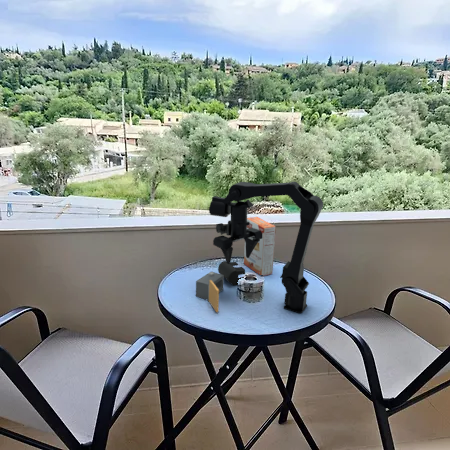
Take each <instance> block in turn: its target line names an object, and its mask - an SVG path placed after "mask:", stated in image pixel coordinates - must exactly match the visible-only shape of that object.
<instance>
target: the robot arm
mask: <svg viewBox="0 0 450 450" xmlns="http://www.w3.org/2000/svg"><path fill="white" fill-rule="evenodd" d="M276 196H278V197H279V196H288V197H289V198H290V199H291V200H292V202H293V203H294V204H295V206H296V207H298V208H299V209H300V211H299V212H300V213H299V220H300V225H299V229H298V232H297V236H296V240H295V244H294V247H293V251H292V255H291V259H290V261H287V262H286V263H285V264H284V266H283V267H282V271H281V272H282V273H281V275H280V279H281V284H282V285H283V287H284V288H285V291H286V293H284V301H283V302H284V303H283V304H284V306H283V309H285V310H288V311H291V312H294V313H298V314H302V313H303V312H304V311H305V309H307V307H308V304H307V299H308V298H307V297H308V291H307V288H308V286H309V284H310V283H309V280H307V278H306V277H305V276H304V273H305V271H304V270H305V266H304V262H305V257H306V253H307V250H308V246H309V243H310V239H311V236H312V232H313V228H314V225H315V223H316V221H317V219H318V218H319V217H320V214H321V212H322V210H323V208H324V201H323V199H322V198H321V197H319V196H318V195H314V194H313V193H312V192H311V191H309V189H306V188H304V187H303V186H302V185H300V184H299V183H298V182H297V181H289V182H276V183H275V182H274V183H261V184H259V183H258V184H257V183H253V182H249V181H239V182H236V183H234V184H232V185H230V187H229V189H228V194H227V195H226V196H225V197H221V196H212V198H211V201H210V203H209V207H208V213H209V214H210V216H215V217H220V218H221V217H222V218H227V217H228V216H229V215H230V220H227V224H224V223H217V224H216V225H215V231H216V232H217V234H218V233H219V234H220V235H219V236H215V237H214V238H213V240H212V245H213V246H215V247H217V248H218V249H220V250H221V251H222V254H223V256H224V258H225V259H224V260H225V261H226V262H227V264H230V262H232V261H231V260H232V255H233V251H234V247H232V246H233V243H235V242H239V241H242V240H244V243H245V242H246V258H249V257H250V255H251V253H252V251H253V249H254V248H255V246H256V245H257V243H258V242H259V241H260V239H262V232H261V230H258V229H255V228H250V229H247V225H249V223H250V222H248V221H247V218H248V209H251V208H252V207H254V203H252V202H251V201H250V199H252V198H257V197H276ZM245 200H246V201H245ZM224 234H226V236H225V235H224ZM228 236H229V237H228Z"/></svg>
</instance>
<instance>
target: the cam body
mask: <svg viewBox="0 0 450 450" xmlns="http://www.w3.org/2000/svg"><path fill="white" fill-rule="evenodd" d="M224 279H225V278H224V275H222V274H220V273H219V272H215V271H214V272H213V271H210V272H208V273H207V274H205V275H203V276H202V277H200V278H199V279H197V280H196V281H195V296H196V297H197V298H200V299H203V300H206V301H208V286H209V280H212V281H213V283H214V284H215V285H216V287H217V288H218V289H219V294H220V293H221V292H222V291H224Z"/></svg>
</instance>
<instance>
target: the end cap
mask: <svg viewBox="0 0 450 450" xmlns="http://www.w3.org/2000/svg"><path fill="white" fill-rule="evenodd" d="M238 265H239V263H238V262H236V261H230V264H227V262H226V260H223V261H221V262H220V264H219V265H218V266H217V267H218V268H217V271H218V272H217V273H218V274H222V275H224V279H225V280H226V281H227V282H229V284H231V285H232V286H234V287H235V286H239V285H238V283H237V282H238V280H239V279H241V278H244V277H245V276H242V275H246V268H244V267H243V266H239V267H236V266H238ZM240 276H241V277H240ZM239 277H240V278H239Z"/></svg>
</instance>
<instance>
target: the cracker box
mask: <svg viewBox="0 0 450 450" xmlns="http://www.w3.org/2000/svg"><path fill="white" fill-rule="evenodd" d="M247 221H248V222H250V223H249V225H247V229H250V228H255V229H258V230H261V232H262V239H260V241H259V242H258V243H257V245H256V246H255V248H254V249H253V251H252V253H251V255H250V257H249V258H246V242H245V241H244V251H243V252H244V253H243V255H244V256H243V265H245V266H246V267H248V268H249V269H250V270H252V271H253V272H254V271H255V272H254V273H256V274H257V273H258V274H257V275H259V274H260V275H263V276H262V277H265V276H270V275H273V271H274V256H275V243H276V231H277V230H276V225H274V224H273V223H270V222H268V221H266V220H264V219H262V218H260V217H258V216H253V217H251V216H250V217H247ZM260 275H259V276H260Z"/></svg>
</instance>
